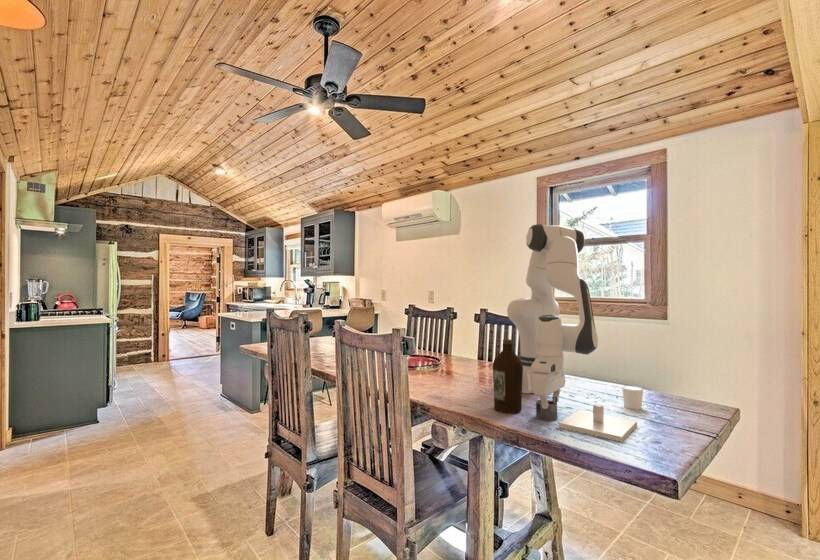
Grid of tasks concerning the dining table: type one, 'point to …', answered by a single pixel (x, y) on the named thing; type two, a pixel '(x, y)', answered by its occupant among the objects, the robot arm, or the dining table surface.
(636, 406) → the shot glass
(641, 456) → the dining table surface
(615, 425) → the post stand
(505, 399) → the olive oil
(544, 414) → the steel collar
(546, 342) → the robot arm
